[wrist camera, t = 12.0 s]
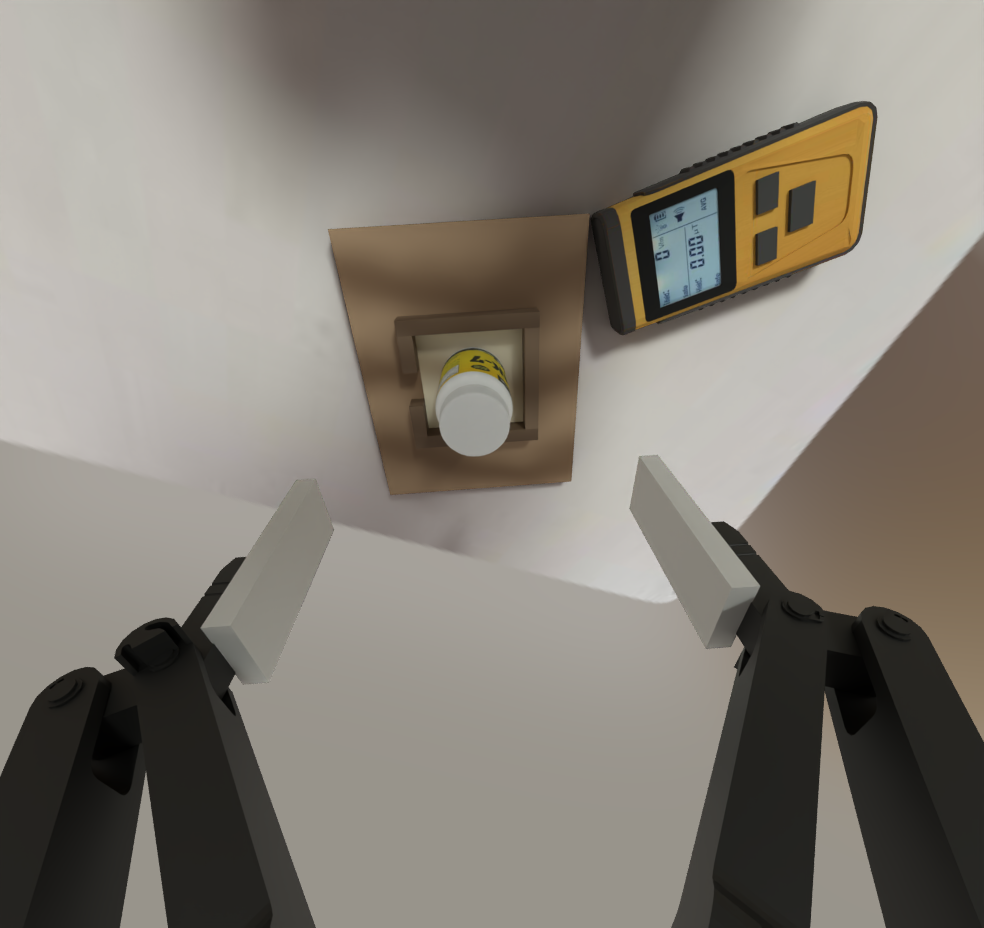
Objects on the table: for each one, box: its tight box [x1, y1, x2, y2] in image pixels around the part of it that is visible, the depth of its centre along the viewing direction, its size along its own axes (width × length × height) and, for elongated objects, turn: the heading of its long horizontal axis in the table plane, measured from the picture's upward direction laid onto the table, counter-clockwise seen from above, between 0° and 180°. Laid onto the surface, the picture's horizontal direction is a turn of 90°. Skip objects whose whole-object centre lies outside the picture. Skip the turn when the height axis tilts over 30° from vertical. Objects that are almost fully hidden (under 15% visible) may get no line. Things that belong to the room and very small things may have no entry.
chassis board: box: [328, 214, 590, 495], centre depth 29 cm, size 20×16×3 cm
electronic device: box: [591, 101, 877, 335], centre depth 25 cm, size 8×16×3 cm, turn 110°
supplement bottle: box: [435, 347, 513, 457], centre depth 25 cm, size 5×5×8 cm
